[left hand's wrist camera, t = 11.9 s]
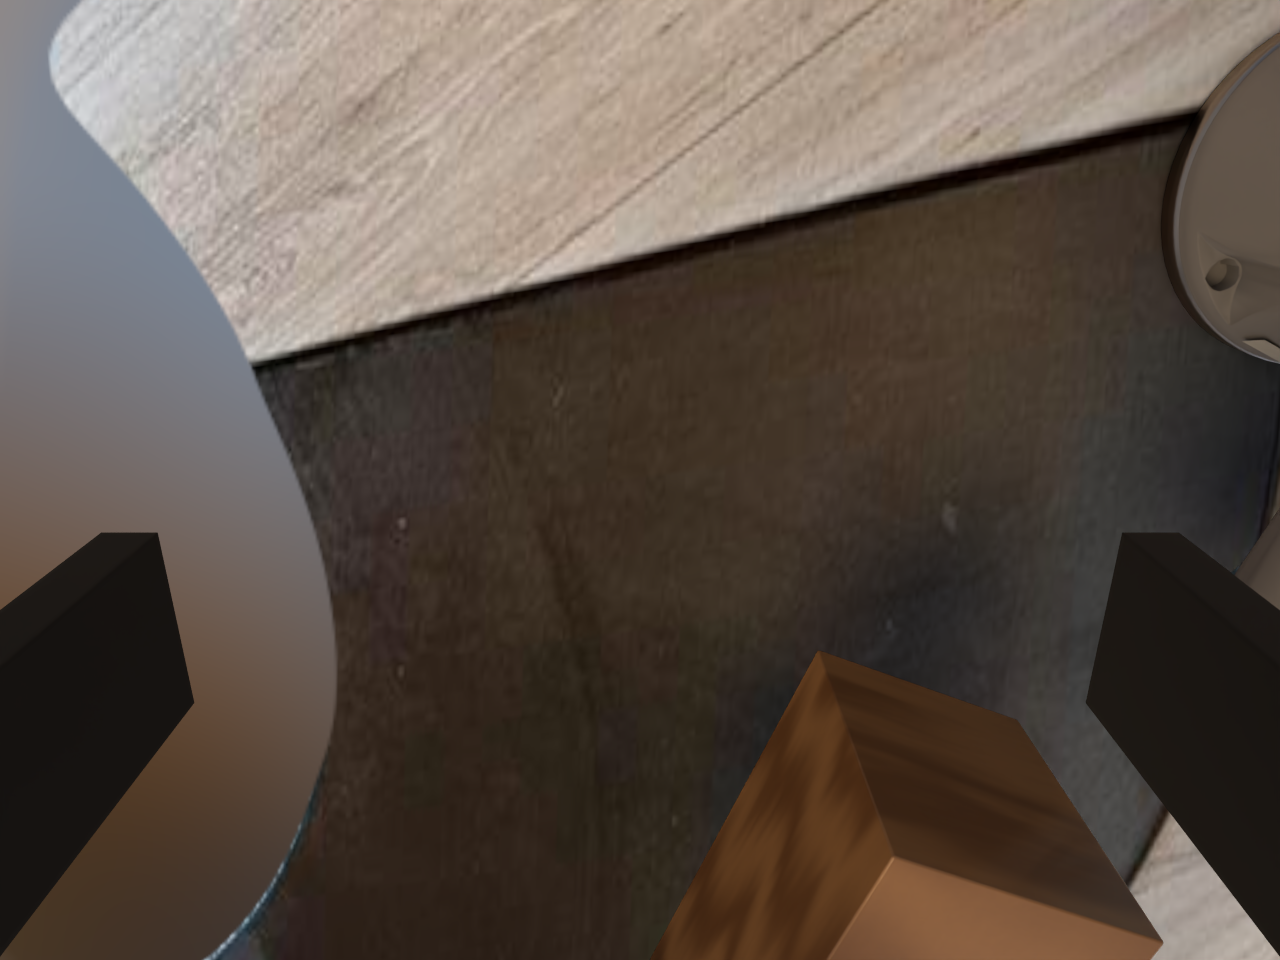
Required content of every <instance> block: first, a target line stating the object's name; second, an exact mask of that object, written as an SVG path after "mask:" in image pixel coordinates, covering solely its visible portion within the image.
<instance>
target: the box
mask: <svg viewBox="0 0 1280 960" xmlns="http://www.w3.org/2000/svg"><path fill="white" fill-rule="evenodd" d="M1162 945H1163V941H1162V939H1161V938H1160V936H1159V935H1158V933H1157V932H1156V930H1155V928H1154V927H1153V925H1152V924H1151V922H1150V921H1149V919H1148V918H1147V916H1146V915H1145V913H1144V912H1143V910H1142V909H1141V907H1140V906H1139V904H1138V903H1137V901H1136V900H1135V898H1134V897H1133V895H1132V894H1131V892H1130V890H1129V889H1128V887H1127V886H1126V884H1125V883H1124V881H1123V880H1122V878H1121V877H1120V875H1119V874H1118V872H1117V871H1116V869H1115V868H1114V866H1113V865H1112V863H1111V862H1110V860H1109V859H1108V857H1107V856H1106V854H1105V852H1104V851H1103V849H1102V848H1101V846H1100V845H1099V843H1098V842H1097V840H1096V839H1095V837H1094V836H1093V834H1092V833H1091V831H1090V830H1089V828H1088V827H1087V825H1086V824H1085V822H1084V821H1083V819H1082V818H1081V816H1080V815H1079V813H1078V811H1077V810H1076V808H1075V807H1074V805H1073V804H1072V802H1071V801H1070V799H1069V798H1068V796H1067V795H1066V793H1065V792H1064V790H1063V789H1062V787H1061V786H1060V784H1059V783H1058V781H1057V780H1056V778H1055V777H1054V775H1053V773H1052V772H1051V770H1050V769H1049V767H1048V766H1047V764H1046V763H1045V761H1044V760H1043V758H1042V757H1041V755H1040V754H1039V752H1038V751H1037V749H1036V748H1035V746H1034V745H1033V743H1032V742H1031V740H1030V739H1029V737H1028V735H1027V734H1026V732H1025V731H1024V729H1023V728H1022V726H1021V725H1020V723H1019V722H1018V721H1017V720H1016V719H1013V718H1010V717H1007V716H1004V715H1002V714H999V713H996V712H993V711H990V710H987V709H984V708H982V707H979V706H976V705H973V704H970V703H967V702H965V701H962V700H959V699H956V698H953V697H950V696H947V695H945V694H942V693H939V692H936V691H933V690H930V689H928V688H925V687H922V686H919V685H916V684H913V683H910V682H908V681H905V680H902V679H899V678H896V677H893V676H891V675H888V674H885V673H882V672H879V671H876V670H873V669H871V668H868V667H865V666H862V665H859V664H856V663H854V662H851V661H848V660H845V659H842V658H839V657H836V656H834V655H831V654H828V653H825V652H822V651H817V653H816V655H815V657H814V658H813V660H812V662H811V664H810V666H809V668H808V669H807V671H806V673H805V675H804V677H803V679H802V681H801V682H800V684H799V686H798V688H797V690H796V692H795V693H794V695H793V697H792V699H791V701H790V703H789V704H788V706H787V708H786V710H785V712H784V714H783V715H782V717H781V719H780V721H779V723H778V725H777V727H776V728H775V730H774V732H773V734H772V736H771V738H770V739H769V741H768V743H767V745H766V747H765V749H764V750H763V752H762V754H761V756H760V758H759V760H758V762H757V763H756V765H755V767H754V769H753V771H752V773H751V774H750V776H749V778H748V780H747V782H746V784H745V785H744V787H743V789H742V791H741V793H740V795H739V796H738V798H737V800H736V802H735V804H734V806H733V808H732V809H731V811H730V813H729V815H728V817H727V819H726V820H725V822H724V824H723V826H722V828H721V830H720V831H719V833H718V835H717V837H716V839H715V841H714V843H713V844H712V846H711V848H710V850H709V852H708V854H707V855H706V857H705V859H704V861H703V863H702V865H701V866H700V868H699V870H698V872H697V874H696V876H695V877H694V879H693V881H692V883H691V885H690V887H689V889H688V890H687V892H686V894H685V896H684V898H683V900H682V901H681V903H680V905H679V907H678V909H677V911H676V912H675V914H674V916H673V918H672V920H671V922H670V924H669V925H668V927H667V929H666V931H665V933H664V935H663V936H662V938H661V940H660V942H659V944H658V946H657V947H656V949H655V951H654V953H653V955H652V957H651V958H650V960H1151V959H1152V957H1153V956H1154V955H1155V954H1156V952H1157V951H1158V950H1159V949H1160V947H1161V946H1162Z"/></svg>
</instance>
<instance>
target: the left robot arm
mask: <svg viewBox="0 0 1280 960" xmlns="http://www.w3.org/2000/svg"><path fill="white" fill-rule="evenodd" d="M1161 236H1162V249H1163V255H1164V261H1165V265H1166V269H1167V272H1168V276H1169V279H1170V281H1171V283H1172V286H1173V288H1174V291H1175V293H1176V294H1177V296H1178V298H1179V300H1180V302H1181V303H1182V305H1183V306H1184V308H1185V309H1186V310H1187V312H1188V313H1189V315H1190V316H1191V317H1192V318H1193V319H1194V320H1195V321H1196V322H1197V323H1198V324H1199V325H1200V326H1201V327H1202V328H1203V329H1204V330H1205V331H1207V332H1208V333H1209V334H1210V335H1212V336H1213V337H1215V338H1216V339H1218V340H1219V341H1221V342H1222V343H1224V344H1226V345H1228V346H1230V347H1232V348H1234V349H1237V350H1239V351H1242V352H1245V353H1247V354H1250V355H1252V356H1255V357H1258V358H1261V359H1264V360H1266V361H1270V362H1275V363H1279V364H1280V33H1278V34H1277V35H1275V36H1273V37H1272V38H1271V39H1269V40H1268V41H1266V42H1265V43H1264V44H1262V45H1261V46H1259V47H1258V48H1257V49H1256V50H1254V51H1253V52H1252V53H1251V54H1250V55H1249V56H1247V57H1246V58H1245V59H1244V60H1243V61H1241V62H1240V63H1239V64H1238V65H1237V66H1236V67H1235V68H1234V69H1233V70H1232V71H1231V72H1230V73H1229V74H1228V75H1227V76H1226V77H1225V79H1224V80H1223V81H1222V82H1221V83H1220V84H1219V86H1218V87H1217V88H1216V89H1215V90H1214V91H1213V93H1212V94H1211V95H1210V97H1209V98H1208V99H1207V101H1206V102H1205V104H1204V105H1203V106H1202V108H1201V109H1200V111H1199V112H1198V114H1197V115H1196V117H1195V119H1194V120H1193V122H1192V124H1191V125H1190V127H1189V129H1188V131H1187V133H1186V135H1185V137H1184V139H1183V141H1182V143H1181V145H1180V147H1179V150H1178V152H1177V154H1176V157H1175V159H1174V162H1173V165H1172V168H1171V171H1170V174H1169V177H1168V181H1167V186H1166V190H1165V195H1164V201H1163V208H1162V221H1161ZM193 704H194V699H193V695H192V690H191V686H190V681H189V676H188V672H187V667H186V662H185V658H184V653H183V648H182V644H181V639H180V634H179V630H178V625H177V620H176V616H175V611H174V607H173V602H172V597H171V593H170V588H169V583H168V579H167V574H166V569H165V565H164V560H163V556H162V551H161V546H160V541H159V537H158V533H100V534H99V535H98V536H96V537H95V538H94V539H93V540H91V541H90V542H89V543H87V544H86V545H85V546H83V547H82V548H81V549H79V550H78V551H77V552H75V553H74V554H73V555H72V556H70V557H69V558H68V559H66V560H65V561H64V562H62V563H61V564H60V565H58V566H57V567H56V568H55V569H53V570H52V571H51V572H49V573H48V574H47V575H45V576H44V577H43V578H41V579H40V580H39V581H38V582H36V583H35V584H34V585H32V586H31V587H30V588H28V589H27V590H26V591H25V592H23V593H22V594H21V595H19V596H18V597H17V598H15V599H14V600H13V601H12V602H10V603H9V604H8V605H6V606H5V607H4V608H2V609H1V610H0V956H1V955H2V953H3V952H4V951H5V949H6V948H7V947H8V946H9V944H10V943H11V942H12V940H13V939H14V938H15V936H16V935H17V934H18V932H19V931H20V930H21V929H22V927H23V926H24V925H25V923H26V922H27V921H28V919H29V918H30V917H31V915H32V914H33V913H34V912H35V910H36V909H37V908H38V906H39V905H40V904H41V902H42V901H43V900H44V898H45V897H46V896H47V895H48V893H49V892H50V891H51V889H52V888H53V887H54V885H55V884H56V883H57V881H58V880H59V879H60V878H61V876H62V875H63V874H64V872H65V871H66V870H67V868H68V867H69V866H70V864H71V863H72V862H73V860H74V859H75V858H76V857H77V855H78V854H79V853H80V851H81V850H82V849H83V847H84V846H85V845H86V844H87V842H88V841H89V840H90V838H91V837H92V836H93V834H94V833H95V832H96V831H97V829H98V828H99V827H100V825H101V824H102V823H103V821H104V820H105V819H106V817H107V816H108V815H109V813H110V812H111V811H112V810H113V808H114V807H115V806H116V804H117V803H118V802H119V800H120V799H121V798H122V797H123V795H124V794H125V792H126V791H127V790H128V789H129V787H130V786H131V785H132V783H133V782H134V781H135V779H136V778H137V777H138V776H139V774H140V773H141V772H142V770H143V769H144V768H145V766H146V765H147V764H148V762H149V761H150V760H151V759H152V757H153V756H154V755H155V753H156V752H157V751H158V749H159V748H160V747H161V746H162V744H163V743H164V742H165V740H166V739H167V738H168V736H169V735H170V734H171V732H172V731H173V730H174V728H175V727H176V726H177V724H178V723H179V722H180V721H181V719H182V718H183V717H184V715H185V714H186V713H187V712H188V710H189V709H190V708H191V706H192V705H193ZM1086 704H1087V705H1088V706H1089V708H1090V709H1091V710H1092V712H1093V713H1094V714H1095V715H1096V717H1097V718H1098V719H1099V721H1100V722H1101V723H1102V725H1103V726H1104V727H1105V729H1106V730H1107V731H1108V732H1109V734H1110V735H1111V736H1112V738H1113V739H1114V740H1115V742H1116V743H1117V744H1118V746H1119V747H1120V748H1121V749H1122V751H1123V752H1124V753H1125V755H1126V756H1127V757H1128V759H1129V760H1130V761H1131V763H1132V764H1133V765H1134V766H1135V768H1136V769H1137V770H1138V772H1139V773H1140V774H1141V776H1142V777H1143V778H1144V780H1145V781H1146V782H1147V783H1148V785H1149V786H1150V787H1151V789H1152V790H1153V791H1154V793H1155V794H1156V795H1157V797H1158V798H1159V799H1160V800H1161V802H1162V803H1163V804H1164V806H1165V807H1166V808H1167V810H1168V811H1169V812H1170V814H1171V815H1172V816H1173V817H1174V819H1175V820H1176V821H1177V823H1178V824H1179V825H1180V827H1181V828H1182V829H1183V831H1184V832H1185V833H1186V834H1187V836H1188V837H1189V838H1190V840H1191V841H1192V842H1193V844H1194V845H1195V846H1196V847H1197V849H1198V850H1199V851H1200V853H1201V854H1202V855H1203V857H1204V858H1205V859H1206V861H1207V862H1208V863H1209V864H1210V866H1211V867H1212V868H1213V870H1214V871H1215V872H1216V874H1217V875H1218V876H1219V878H1220V879H1221V880H1222V881H1223V883H1224V884H1225V885H1226V887H1227V888H1228V889H1229V891H1230V892H1231V893H1232V895H1233V896H1234V897H1235V898H1236V900H1237V901H1238V902H1239V904H1240V905H1241V906H1242V908H1243V909H1244V910H1245V912H1246V913H1247V914H1248V915H1249V917H1250V918H1251V919H1252V921H1253V922H1254V923H1255V925H1256V926H1257V927H1258V929H1259V930H1260V931H1261V932H1262V934H1263V935H1264V936H1265V938H1266V939H1267V940H1268V942H1269V943H1270V944H1271V946H1272V947H1273V948H1274V949H1275V951H1276V952H1277V953H1278V955H1279V956H1280V508H1279V510H1278V511H1277V513H1276V514H1275V516H1274V517H1273V519H1272V520H1271V522H1270V523H1269V525H1268V526H1267V528H1266V529H1265V531H1264V532H1263V533H1262V535H1261V536H1260V538H1259V539H1258V541H1257V542H1256V544H1255V545H1254V547H1253V548H1252V550H1251V551H1250V553H1249V554H1248V555H1247V557H1246V558H1245V560H1244V561H1243V563H1242V564H1241V566H1239V567H1237V568H1236V569H1235V570H1234V571H1233V572H1232V573H1231V572H1229V571H1228V570H1227V569H1225V568H1224V567H1223V566H1222V565H1220V564H1219V563H1218V562H1216V561H1215V560H1214V559H1212V558H1211V557H1210V556H1209V555H1207V554H1206V553H1205V552H1203V551H1202V550H1201V549H1199V548H1198V547H1197V546H1195V545H1194V544H1193V543H1192V542H1190V541H1189V540H1188V539H1186V538H1185V537H1184V536H1182V535H1181V534H1180V533H1122V537H1121V541H1120V546H1119V551H1118V555H1117V560H1116V565H1115V569H1114V574H1113V579H1112V583H1111V588H1110V593H1109V597H1108V602H1107V607H1106V611H1105V616H1104V620H1103V625H1102V630H1101V634H1100V639H1099V644H1098V648H1097V653H1096V658H1095V662H1094V667H1093V672H1092V676H1091V681H1090V686H1089V690H1088V695H1087V699H1086Z"/></svg>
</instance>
